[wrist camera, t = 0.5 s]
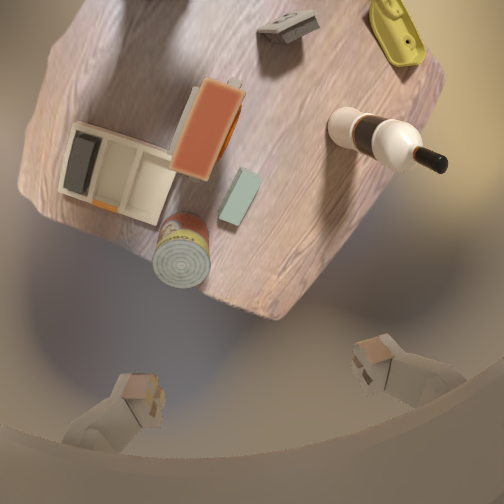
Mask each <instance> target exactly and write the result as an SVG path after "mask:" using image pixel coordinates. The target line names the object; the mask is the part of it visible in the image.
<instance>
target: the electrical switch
mask: <svg viewBox="0 0 504 504" xmlns="http://www.w3.org/2000/svg"><path fill="white" fill-rule="evenodd" d="M317 14H318V13H317V12H316V10H303V11H293V12H290V13H288V14H286V15H284V16H282V17H280V18H278V19H276V20H274V21H272V22H270V23H268V24H266V25H264V26H262V27H260V28H258V29H257V31H258V32H259V33H264V34H265V36H266V37H267V38H268V39H269V41H270V42H274V43H282V44H286V43H287V44H288V43H290V42H292V41H294V40H296V39H298V38H300V37H302V36H304V35H306V34H308V33H310V32H312V31H314V30H316V29H318V28H320V26H319V25H318V23H317V20H316V18H315V15H317ZM303 26H304V27H303ZM296 31H297V32H296ZM295 33H296V34H295Z"/></svg>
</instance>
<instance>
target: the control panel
mask: <svg viewBox="0 0 504 504" xmlns="http://www.w3.org/2000/svg"><path fill="white" fill-rule="evenodd" d="M227 83H228V84H225V83H222V82H219V81H216V80H214V79H211V78H208V77H205V78H204V79H203V82H202V84H201V86H200V88H198V87H195V86H194V87H193V88H192V92H191V94H190V97H189V99H188V101H187V104H186V106H185V108H184V111H183V113H182V116H181V118H180V121H179V123H178V126H177V129H176V131H175V134H174V137H173V139H172V142H171V145H170V148H169V150H168V151H167V155H171V156H172V159H171V161H170V164H169V167H168V168H169V170H172V171H175V172H178V173H181V174H185V175H188V180H189V181H192V182H195V183H199V181H200V180H203V181H208V180H209V177H210V175H211V172H212V170H213V167H214V165H215V163H216V162H217V161H218V160H219V159H220V158H221V156H222V154H223V152H224V150H225V149H226V147H227V145H228V142H229V140H230V138H231V136H232V133H233V131H234V129H235V126H236V123H237V121H238V118H239V115H240V112H241V107H242V105H241V103H242V101H243V99H244V97H245V95H246V92H245V91H243V90H240V89H239V88H240V87H241V86H242V81H240V80H238V79H235V78H232V77H231V78H230V79H229V80H228V82H227Z"/></svg>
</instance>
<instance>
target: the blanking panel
mask: <svg viewBox="0 0 504 504" xmlns="http://www.w3.org/2000/svg"><path fill="white" fill-rule="evenodd" d="M262 181H263V180H262V178H261V177H260V175H258V174H256V173H254V172H252V171H249V170H247V169H245V168H243V167H240V168H239V170H238V172H237V174H236V176H235V178H234V180H233V182H232V184H231V186H230V188H229V190H228V192H227V194H226V196H225V198H224V200H223V202H222V204H221V206H220V208H219V210H218V216H219V219H221V220H224V221H226V222H229V223H232V224H234V225H237V226H239V224H240V222H241V220H242V218H243V216H244V215H245V213H246V211H247V209H248V207H249V205H250V203H251V201H252V200H253V198H254V196H255V194H256V192H257V190H258V189H259V187H260V185H261V183H262Z"/></svg>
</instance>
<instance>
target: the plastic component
mask: <svg viewBox="0 0 504 504" xmlns="http://www.w3.org/2000/svg"><path fill="white" fill-rule="evenodd" d="M369 16H370V22H371V26H372V29H373V32H374V34H375V36H376V38H377V39H378V41H379V43H380V45H381V47H382V49H383V51H384V53H385V55H386V57H387V59H388V61H389V62H390V63H391V64H392V65H394V66H397V67H405V66H413V65H419V64H421V63H422V61H423V60H424V59H425V57H426V49H425V46H424V44H423V42H422V39H421V37H420V35H419V33H418V31H417V29H416V26H415V25H414V22H413V20H412V18H411V16H410V15H409V13H408V11H407V9H406V7H405V5H404V4H403V2H402V0H371V3H370V9H369ZM406 40H408V41H409V43H408V44H406Z"/></svg>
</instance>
